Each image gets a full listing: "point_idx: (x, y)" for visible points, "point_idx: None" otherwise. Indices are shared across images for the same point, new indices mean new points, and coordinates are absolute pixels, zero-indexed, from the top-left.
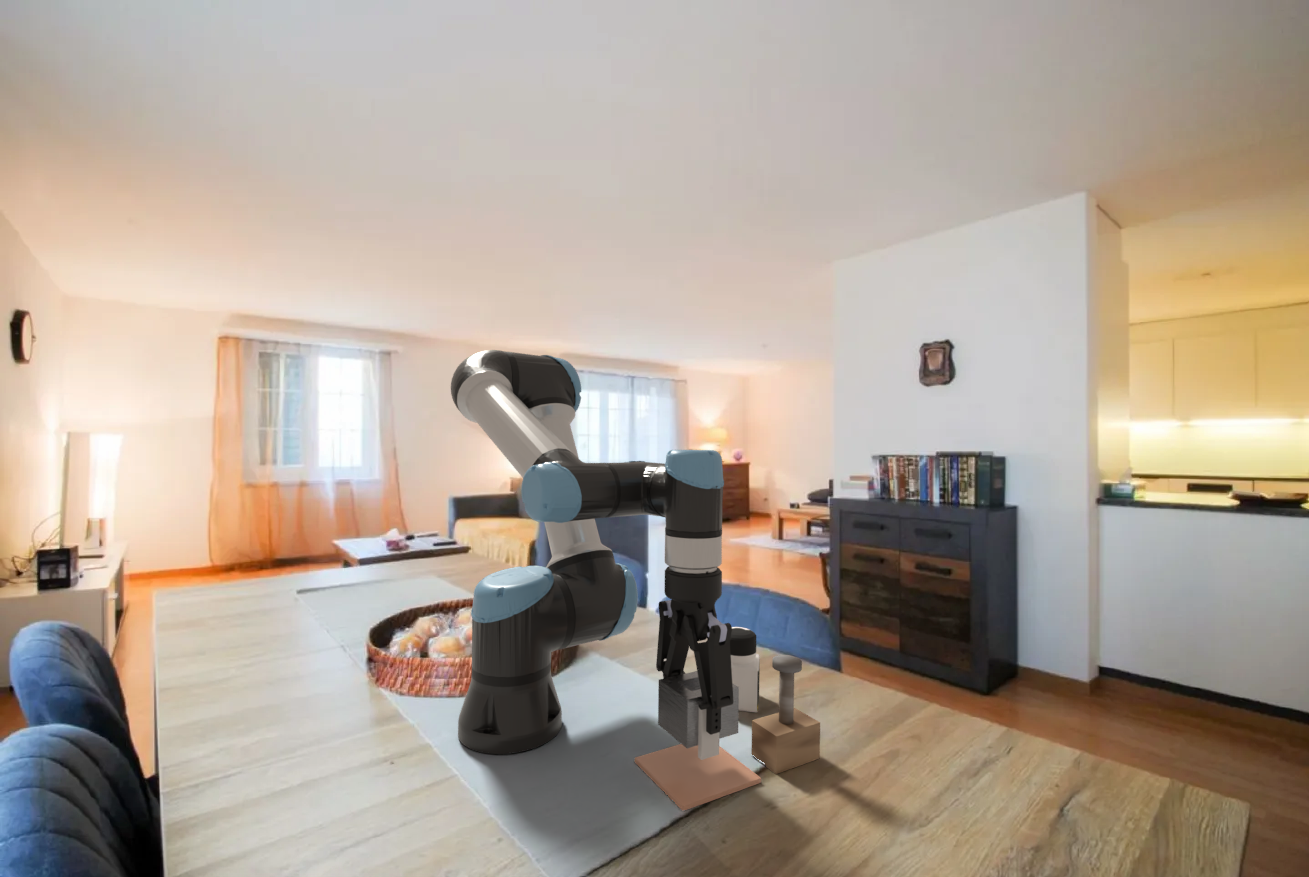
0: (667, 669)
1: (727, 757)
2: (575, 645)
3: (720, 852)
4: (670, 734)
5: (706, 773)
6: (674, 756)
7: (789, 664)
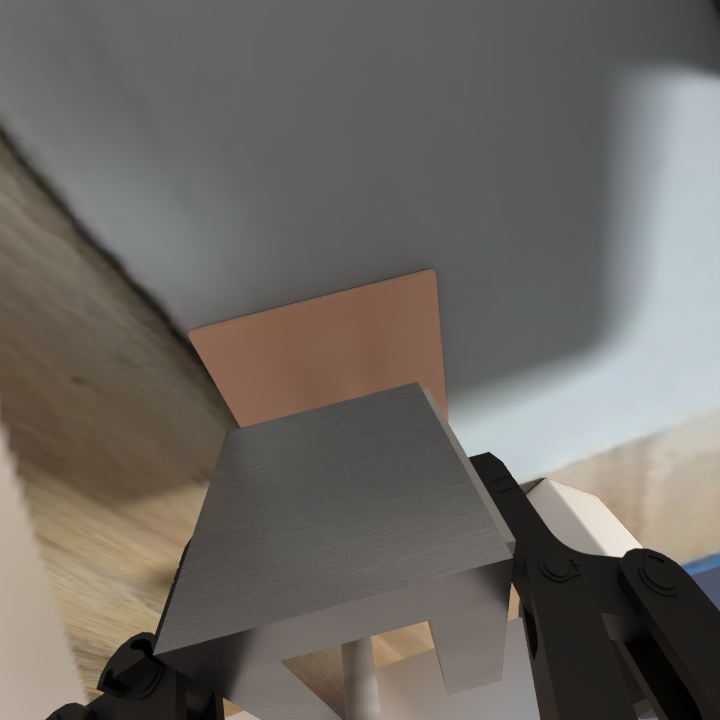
0: (563, 636)
1: None
2: None
3: (33, 364)
4: (333, 404)
5: None
6: (401, 369)
7: None
